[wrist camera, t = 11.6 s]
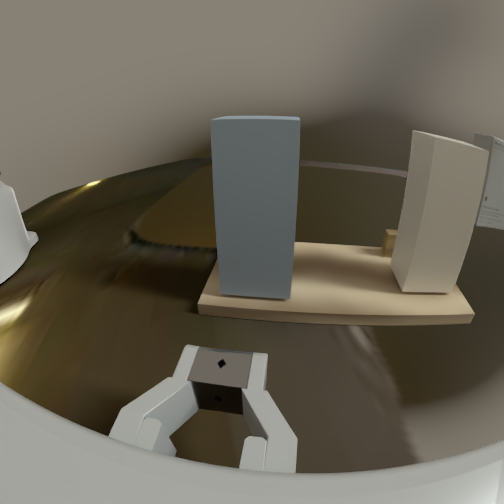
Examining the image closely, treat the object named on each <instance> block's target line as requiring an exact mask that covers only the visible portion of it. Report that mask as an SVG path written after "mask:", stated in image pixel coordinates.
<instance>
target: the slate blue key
mask: <svg viewBox="0 0 504 504" xmlns="http://www.w3.org/2000/svg"><path fill="white" fill-rule="evenodd" d="M211 145H212V167H213V168H212V169H213V190H214V208H215V224H216V239H217V255H218V268H219V281H220V294H227V295H239V296H252V297H265V298H280V299H290V295H291V283H292V271H293V257H294V243H295V228H296V212H297V194H298V193H297V192H298V172H299V171H298V170H299V146H300V119H299V117H285V116H225V117H221V118H216V119H212V120H211Z"/></svg>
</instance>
